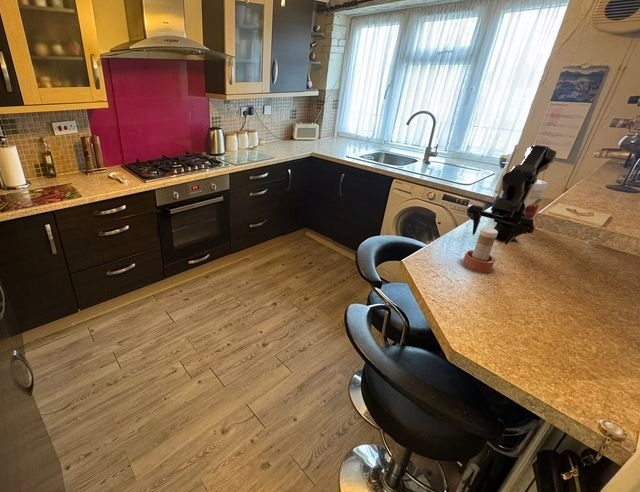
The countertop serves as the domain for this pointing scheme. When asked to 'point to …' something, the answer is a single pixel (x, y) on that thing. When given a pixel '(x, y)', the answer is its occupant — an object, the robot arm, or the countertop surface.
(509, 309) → the countertop surface
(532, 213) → the juice carton
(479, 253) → the sprinkles bottle
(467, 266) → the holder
